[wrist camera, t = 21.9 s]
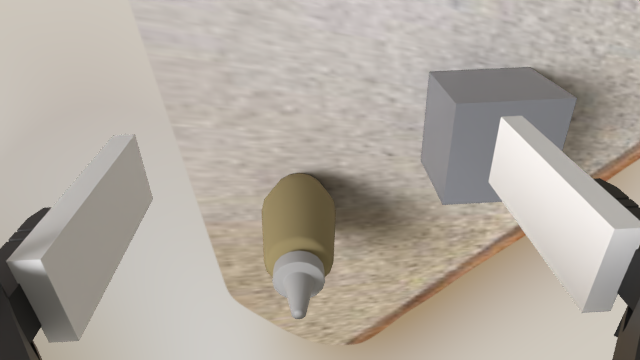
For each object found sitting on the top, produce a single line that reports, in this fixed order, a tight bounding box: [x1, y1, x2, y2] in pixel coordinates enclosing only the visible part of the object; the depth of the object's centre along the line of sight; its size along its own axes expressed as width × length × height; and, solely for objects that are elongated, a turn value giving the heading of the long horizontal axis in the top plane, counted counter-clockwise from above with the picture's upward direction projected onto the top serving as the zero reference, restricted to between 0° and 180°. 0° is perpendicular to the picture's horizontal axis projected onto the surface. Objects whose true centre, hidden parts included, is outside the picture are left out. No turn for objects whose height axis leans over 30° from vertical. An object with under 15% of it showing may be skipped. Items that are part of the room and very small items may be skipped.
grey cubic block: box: [421, 67, 577, 205], centre depth 43 cm, size 10×10×9 cm
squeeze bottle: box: [262, 173, 336, 319], centre depth 43 cm, size 8×8×18 cm
